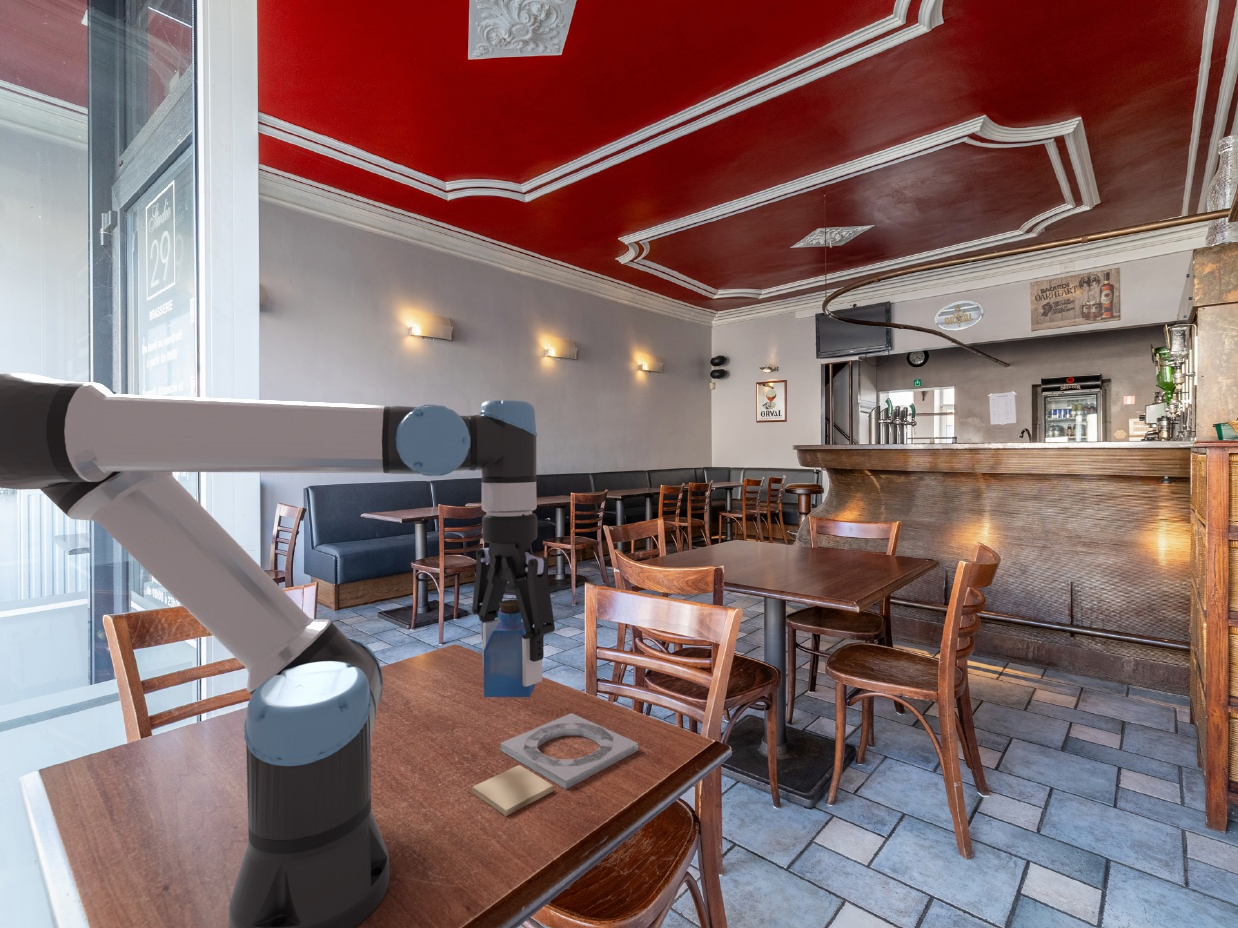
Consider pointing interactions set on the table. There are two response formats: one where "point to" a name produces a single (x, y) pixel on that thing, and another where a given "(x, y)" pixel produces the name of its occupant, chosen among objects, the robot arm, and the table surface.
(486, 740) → the table surface
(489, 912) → the table surface
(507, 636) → the perfume bottle
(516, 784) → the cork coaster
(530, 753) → the eye plate
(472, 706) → the table surface
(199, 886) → the table surface
